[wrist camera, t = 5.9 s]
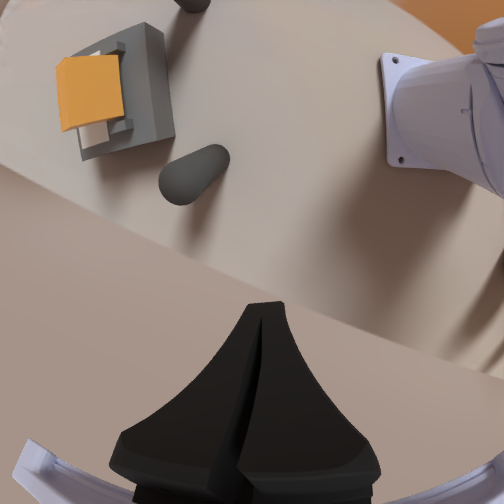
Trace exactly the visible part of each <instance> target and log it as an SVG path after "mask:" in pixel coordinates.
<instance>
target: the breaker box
mask: <svg viewBox="0 0 504 504" xmlns="http://www.w3.org/2000/svg"><path fill="white" fill-rule="evenodd" d="M93 55H118V63H119V75H120V85H121V94H122V103H123V110H124V116H121V117H119V118H116V119H114V120H110V121H105V122H100V123H96V124H92V125H88V126H84V127H80V128H77V135H78V141H79V146H80V152H81V157H82V161H85V160H88V159H91V158H94V157H97V156H101V155H104V154H107V153H111V152H114V151H118V150H122V149H125V148H129V147H133V146H137V145H141V144H145V143H149V142H154V141H158V140H162V139H166V138H170V137H174V136H176V135H175V129H174V122H173V115H172V108H171V100H170V92H169V84H168V75H167V66H166V56H165V45H164V33H163V32H161V31H159V30H158V29H156V28H154V27H153V26H151V25H149V24H147V23H146V22H143V23H140V24H137V25H135V26H132V27H130V28H127V29H125V30H123V31H120V32H118V33H116V34H113V35H111V36H109V37H107V38H105V39H103V40H101V41H99V42H97V43H95V44H93V45H91V46H89V47H87V48H85V49H83V50H81V51H79V52H78V53H76V54H74V55H72V56H71V57H78V56H93Z"/></svg>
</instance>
